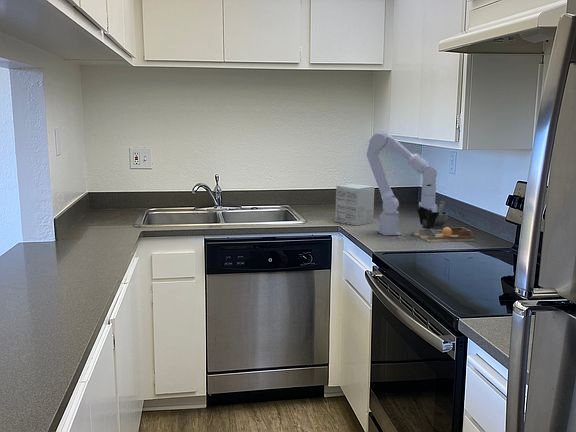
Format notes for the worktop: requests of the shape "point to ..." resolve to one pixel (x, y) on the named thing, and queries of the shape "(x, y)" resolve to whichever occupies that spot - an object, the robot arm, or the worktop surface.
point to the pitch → (456, 236)
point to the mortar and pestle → (441, 216)
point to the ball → (446, 231)
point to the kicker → (425, 228)
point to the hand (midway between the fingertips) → (426, 226)
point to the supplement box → (354, 204)
